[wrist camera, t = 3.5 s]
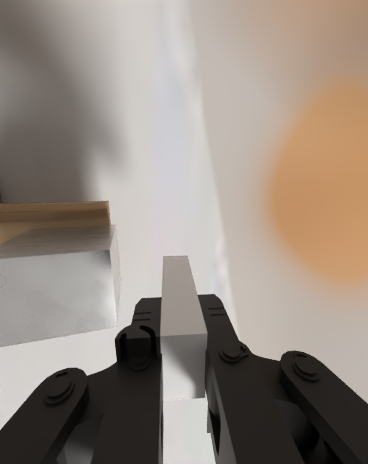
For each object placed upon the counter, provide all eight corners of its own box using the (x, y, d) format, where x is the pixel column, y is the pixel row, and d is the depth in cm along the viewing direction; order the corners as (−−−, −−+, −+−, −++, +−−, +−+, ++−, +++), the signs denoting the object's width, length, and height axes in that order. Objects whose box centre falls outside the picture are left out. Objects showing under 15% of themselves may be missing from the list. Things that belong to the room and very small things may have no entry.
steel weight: (29, 229, 15) (-31, 261, 9) (116, 224, 16) (109, 249, 11) (41, 288, 16) (-5, 347, 10) (120, 278, 18) (117, 326, 12)
